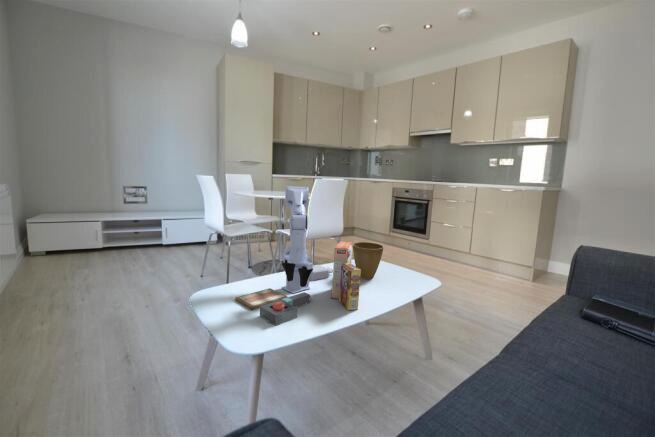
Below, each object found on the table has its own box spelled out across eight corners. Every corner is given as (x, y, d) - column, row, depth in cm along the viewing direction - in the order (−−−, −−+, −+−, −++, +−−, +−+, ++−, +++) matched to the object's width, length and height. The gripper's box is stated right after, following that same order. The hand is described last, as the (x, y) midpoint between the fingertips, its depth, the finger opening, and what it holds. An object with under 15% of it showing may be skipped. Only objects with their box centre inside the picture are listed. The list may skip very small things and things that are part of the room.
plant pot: (348, 279, 149) (349, 246, 146) (354, 270, 163) (356, 240, 161) (379, 283, 144) (381, 250, 142) (383, 274, 158) (385, 243, 156)
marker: (306, 299, 123) (306, 291, 122) (312, 301, 120) (312, 293, 120) (281, 307, 114) (281, 299, 113) (286, 310, 112) (287, 301, 111)
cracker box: (346, 300, 123) (348, 248, 120) (331, 298, 124) (333, 247, 121) (350, 288, 136) (353, 241, 134) (337, 287, 138) (339, 240, 135)
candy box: (359, 309, 115) (361, 269, 113) (348, 310, 113) (350, 270, 111) (348, 300, 123) (350, 262, 121) (338, 301, 122) (340, 263, 120)
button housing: (281, 309, 112) (281, 299, 112) (297, 317, 106) (297, 307, 106) (259, 316, 106) (259, 306, 106) (275, 325, 100) (275, 315, 99)
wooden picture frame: (270, 290, 130) (270, 287, 130) (288, 299, 122) (288, 296, 121) (234, 300, 118) (234, 296, 118) (252, 310, 110) (252, 306, 110)
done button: (279, 307, 109) (279, 300, 108) (286, 310, 106) (287, 304, 106) (270, 310, 106) (270, 303, 105) (277, 314, 103) (277, 307, 103)
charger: (338, 276, 153) (312, 281, 144) (327, 271, 160) (302, 275, 152) (339, 267, 152) (313, 271, 144) (328, 262, 160) (302, 266, 151)
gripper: (276, 245, 116) (276, 280, 118) (302, 253, 106) (301, 291, 108) (291, 243, 121) (290, 277, 123) (317, 250, 111) (316, 287, 113)
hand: (296, 283), depth 116 cm, fingers open, 7 cm apart
